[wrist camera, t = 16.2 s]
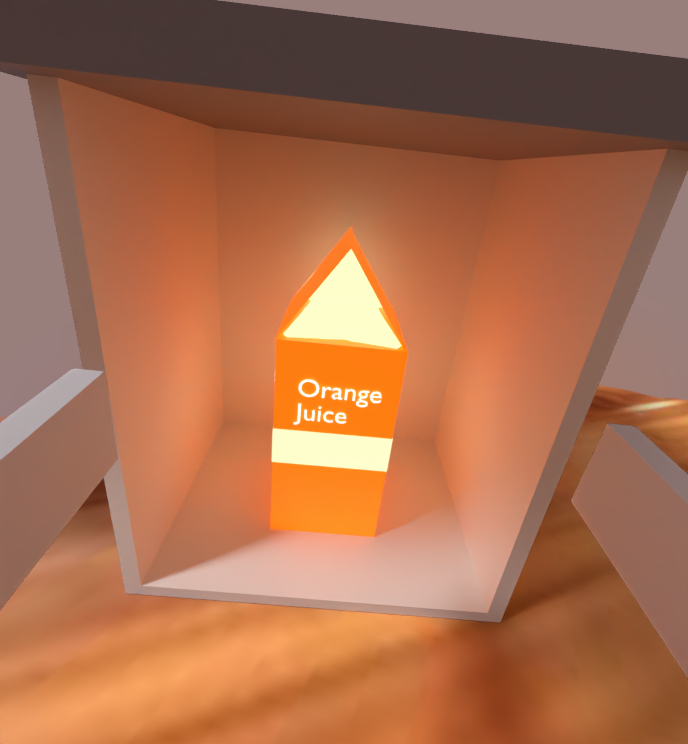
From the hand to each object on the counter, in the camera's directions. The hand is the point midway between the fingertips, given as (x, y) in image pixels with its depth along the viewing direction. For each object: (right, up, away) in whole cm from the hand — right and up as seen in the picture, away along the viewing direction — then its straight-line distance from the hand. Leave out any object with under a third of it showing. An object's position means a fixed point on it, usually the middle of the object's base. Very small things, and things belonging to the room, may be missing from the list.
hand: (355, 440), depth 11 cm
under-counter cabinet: (-2, -8, +23) cm, 24 cm away
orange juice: (-2, -8, +23) cm, 24 cm away
